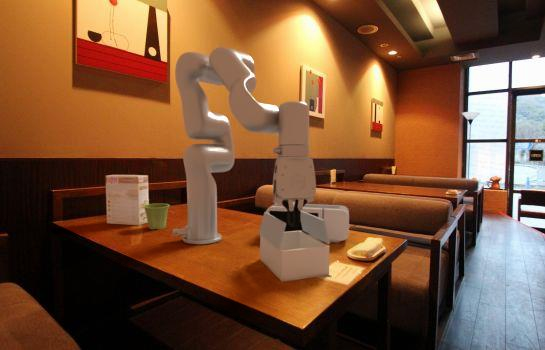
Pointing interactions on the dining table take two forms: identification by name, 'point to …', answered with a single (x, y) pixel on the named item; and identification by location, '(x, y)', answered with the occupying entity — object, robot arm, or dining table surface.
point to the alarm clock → (332, 215)
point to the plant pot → (156, 215)
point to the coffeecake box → (126, 199)
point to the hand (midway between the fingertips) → (293, 225)
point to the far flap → (314, 226)
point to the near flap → (272, 229)
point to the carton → (296, 256)
